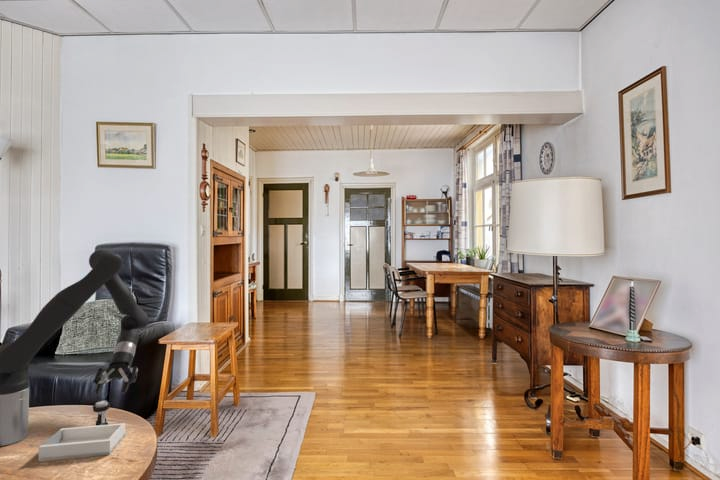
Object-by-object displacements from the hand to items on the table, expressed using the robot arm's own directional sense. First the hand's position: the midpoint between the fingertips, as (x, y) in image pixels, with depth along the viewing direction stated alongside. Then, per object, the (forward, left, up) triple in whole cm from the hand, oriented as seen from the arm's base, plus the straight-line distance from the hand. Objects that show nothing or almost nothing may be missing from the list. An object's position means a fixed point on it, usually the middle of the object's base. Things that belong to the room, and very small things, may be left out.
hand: (110, 393), depth 141 cm
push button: (0, -6, -11) cm, 13 cm away
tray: (0, -18, -11) cm, 21 cm away
